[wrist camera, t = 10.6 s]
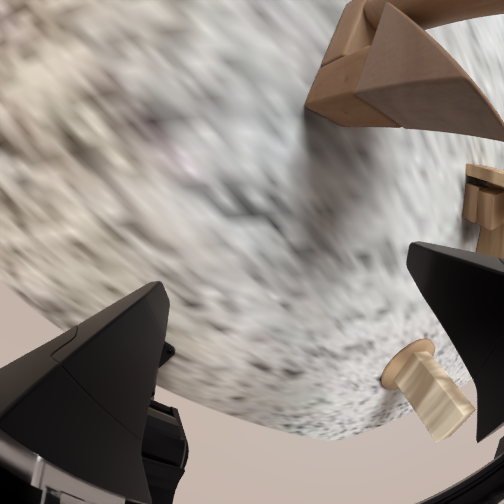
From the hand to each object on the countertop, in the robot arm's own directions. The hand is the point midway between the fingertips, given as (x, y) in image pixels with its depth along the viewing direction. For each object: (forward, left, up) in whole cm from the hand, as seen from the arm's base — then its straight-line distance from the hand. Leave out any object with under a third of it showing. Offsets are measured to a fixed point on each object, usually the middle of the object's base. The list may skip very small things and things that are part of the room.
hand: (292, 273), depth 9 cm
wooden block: (+13, +3, -11) cm, 18 cm away
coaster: (0, -31, -11) cm, 33 cm away
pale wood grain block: (0, -31, -11) cm, 33 cm away
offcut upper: (+18, -17, -9) cm, 27 cm away
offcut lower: (+18, -17, -11) cm, 28 cm away
